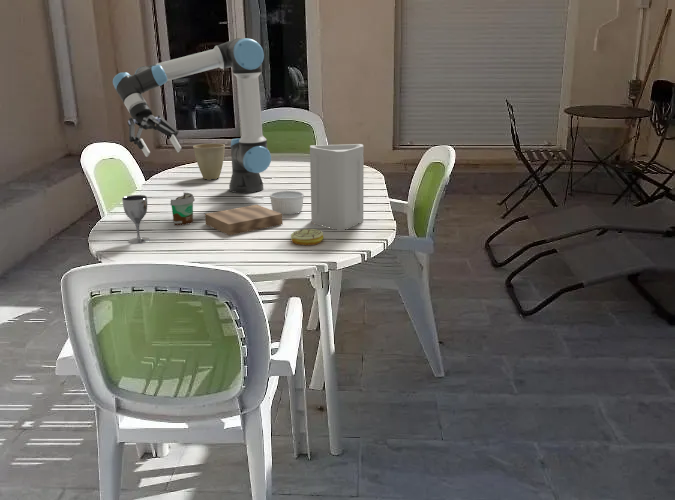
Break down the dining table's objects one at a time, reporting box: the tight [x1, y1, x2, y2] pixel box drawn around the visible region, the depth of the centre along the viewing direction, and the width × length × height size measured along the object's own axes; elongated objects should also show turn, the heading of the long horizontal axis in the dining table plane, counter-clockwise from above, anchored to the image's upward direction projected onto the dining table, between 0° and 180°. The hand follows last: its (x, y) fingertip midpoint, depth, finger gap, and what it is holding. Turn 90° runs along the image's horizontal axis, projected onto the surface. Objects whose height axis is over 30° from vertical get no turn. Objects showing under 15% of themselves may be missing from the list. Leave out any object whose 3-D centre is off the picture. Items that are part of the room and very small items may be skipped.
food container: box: [170, 192, 196, 227], centre depth 250 cm, size 12×6×10 cm, turn 168°
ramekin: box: [269, 190, 305, 215], centre depth 264 cm, size 13×13×7 cm
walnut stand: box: [204, 204, 284, 236], centre depth 247 cm, size 22×18×4 cm
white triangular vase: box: [309, 143, 365, 231], centre depth 242 cm, size 19×15×28 cm
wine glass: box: [121, 194, 150, 245], centre depth 227 cm, size 8×8×15 cm
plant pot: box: [192, 142, 226, 181], centre depth 324 cm, size 15×15×16 cm
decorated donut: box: [290, 228, 324, 246], centre depth 226 cm, size 10×11×4 cm
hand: (164, 152), depth 250 cm, fingers open, 13 cm apart
